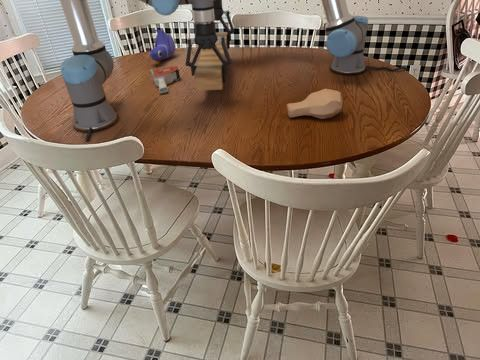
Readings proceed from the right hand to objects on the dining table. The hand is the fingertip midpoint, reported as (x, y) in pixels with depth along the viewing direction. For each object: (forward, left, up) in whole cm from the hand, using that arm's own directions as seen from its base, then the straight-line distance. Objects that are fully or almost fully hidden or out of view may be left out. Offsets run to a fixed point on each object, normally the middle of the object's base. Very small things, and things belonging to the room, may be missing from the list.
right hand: (217, 48), depth 176 cm
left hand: (-14, +43, 0) cm, 46 cm away
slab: (-7, +22, -1) cm, 23 cm away
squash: (-56, +48, -8) cm, 74 cm away
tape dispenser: (+15, +31, -8) cm, 35 cm away
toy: (+33, 0, -8) cm, 33 cm away
